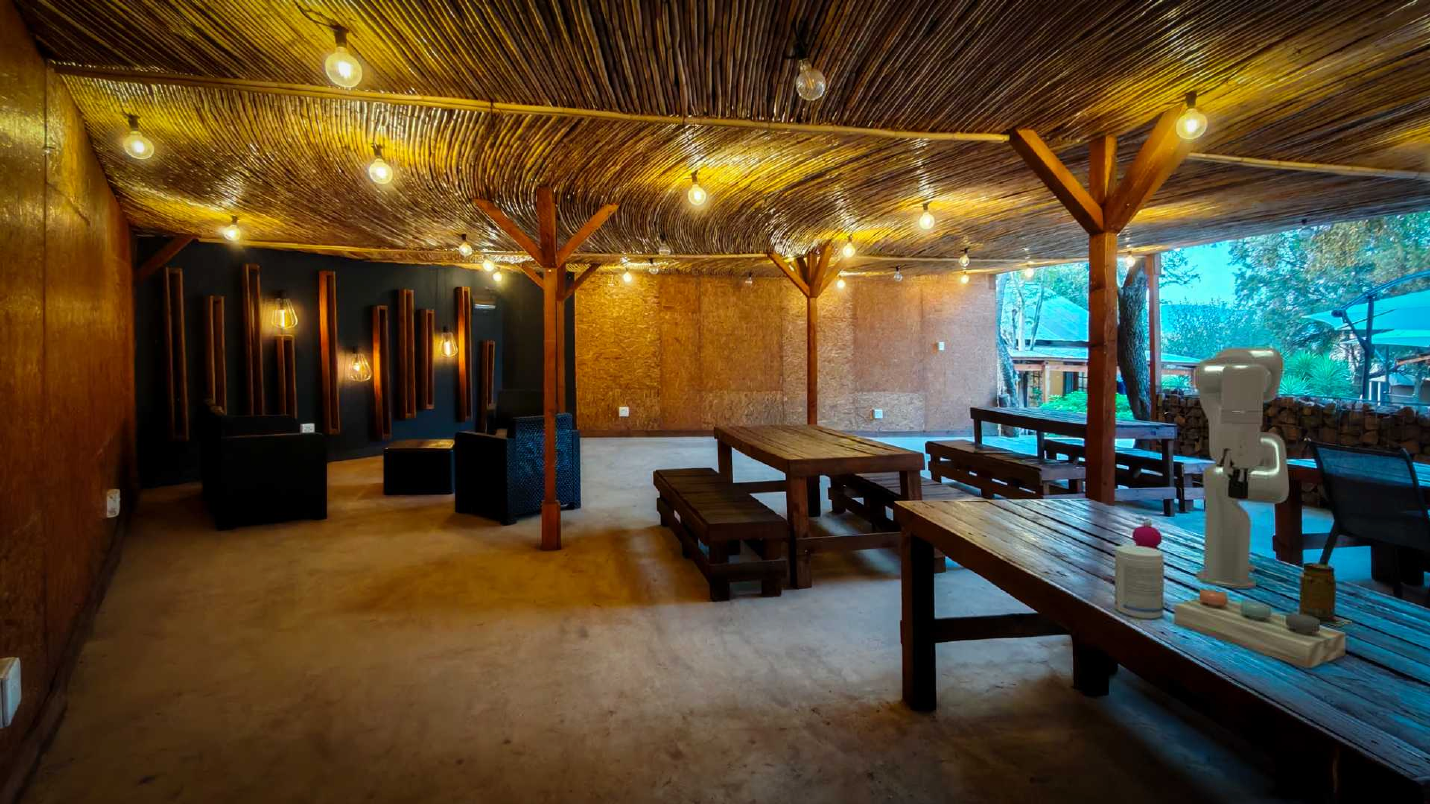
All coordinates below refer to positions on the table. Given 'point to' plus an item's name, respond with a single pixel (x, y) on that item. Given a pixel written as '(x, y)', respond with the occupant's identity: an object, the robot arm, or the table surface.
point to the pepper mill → (1147, 536)
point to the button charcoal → (1302, 623)
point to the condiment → (1319, 593)
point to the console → (1261, 633)
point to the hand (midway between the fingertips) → (1237, 498)
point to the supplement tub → (1139, 581)
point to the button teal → (1255, 610)
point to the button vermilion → (1213, 597)
